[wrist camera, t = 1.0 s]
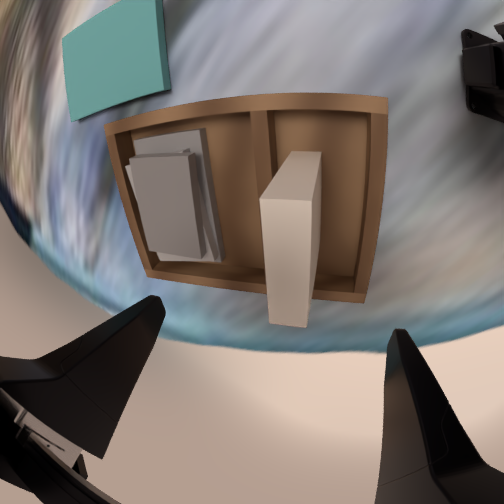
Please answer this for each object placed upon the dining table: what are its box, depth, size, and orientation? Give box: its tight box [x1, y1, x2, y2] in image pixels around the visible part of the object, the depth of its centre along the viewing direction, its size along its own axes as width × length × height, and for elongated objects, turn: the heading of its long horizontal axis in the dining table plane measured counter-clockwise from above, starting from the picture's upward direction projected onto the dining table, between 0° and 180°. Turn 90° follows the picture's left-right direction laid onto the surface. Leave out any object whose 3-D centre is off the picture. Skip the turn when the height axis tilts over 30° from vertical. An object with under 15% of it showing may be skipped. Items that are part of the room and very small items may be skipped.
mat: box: [62, 0, 171, 122], centre depth 16 cm, size 12×10×1 cm
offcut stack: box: [125, 128, 225, 262], centre depth 20 cm, size 7×11×3 cm, turn 6°
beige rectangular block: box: [259, 151, 322, 328], centre depth 15 cm, size 2×7×8 cm, turn 6°
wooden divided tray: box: [104, 93, 388, 303], centre depth 20 cm, size 20×15×3 cm
